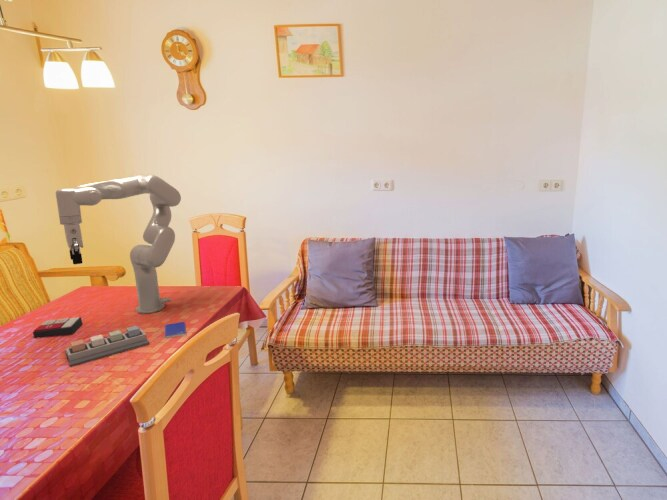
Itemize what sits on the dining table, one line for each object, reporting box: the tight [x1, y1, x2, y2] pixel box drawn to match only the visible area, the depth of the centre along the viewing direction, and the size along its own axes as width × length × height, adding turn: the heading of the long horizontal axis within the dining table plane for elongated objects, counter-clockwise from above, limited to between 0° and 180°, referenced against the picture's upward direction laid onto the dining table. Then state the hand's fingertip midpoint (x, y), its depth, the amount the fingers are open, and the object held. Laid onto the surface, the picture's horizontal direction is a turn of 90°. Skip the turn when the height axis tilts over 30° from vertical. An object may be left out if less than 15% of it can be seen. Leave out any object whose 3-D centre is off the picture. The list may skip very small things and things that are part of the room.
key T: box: [125, 324, 141, 337], centre depth 172 cm, size 4×4×2 cm
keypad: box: [64, 328, 150, 367], centre depth 167 cm, size 27×14×3 cm, turn 128°
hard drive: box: [164, 321, 187, 339], centre depth 182 cm, size 2×8×12 cm
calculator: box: [32, 316, 83, 339], centre depth 184 cm, size 11×4×15 cm
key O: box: [89, 334, 105, 347], centre depth 164 cm, size 4×4×2 cm
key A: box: [108, 329, 123, 342], centre depth 168 cm, size 4×4×2 cm
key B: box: [70, 339, 85, 352], centre depth 160 cm, size 4×4×2 cm
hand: (76, 261), depth 174 cm, fingers open, 9 cm apart
